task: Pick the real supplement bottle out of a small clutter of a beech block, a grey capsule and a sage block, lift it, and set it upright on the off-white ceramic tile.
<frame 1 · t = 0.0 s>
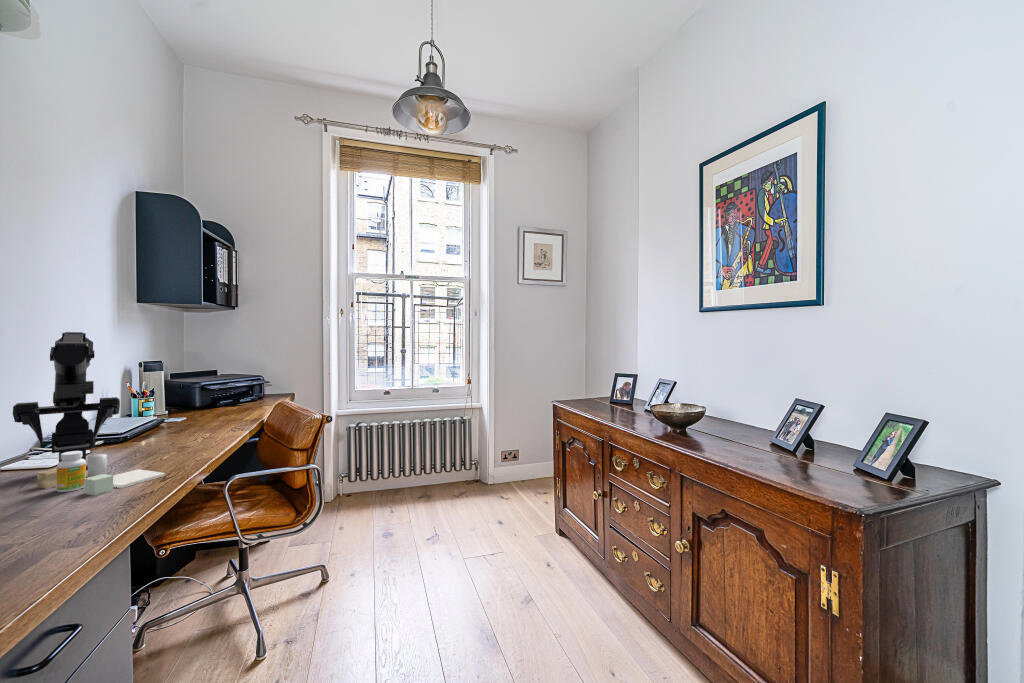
hand: (68, 440, 105), 15 cm above the table, tool tilted 35°, fingers open, 9 cm apart
ceramic tile: (130, 479, 121), on the table
beech block: (51, 485, 115), on the table
sage block: (98, 492, 111), on the table
grey capsule: (97, 476, 123), on the table
supplement bottle: (71, 489, 113), on the table
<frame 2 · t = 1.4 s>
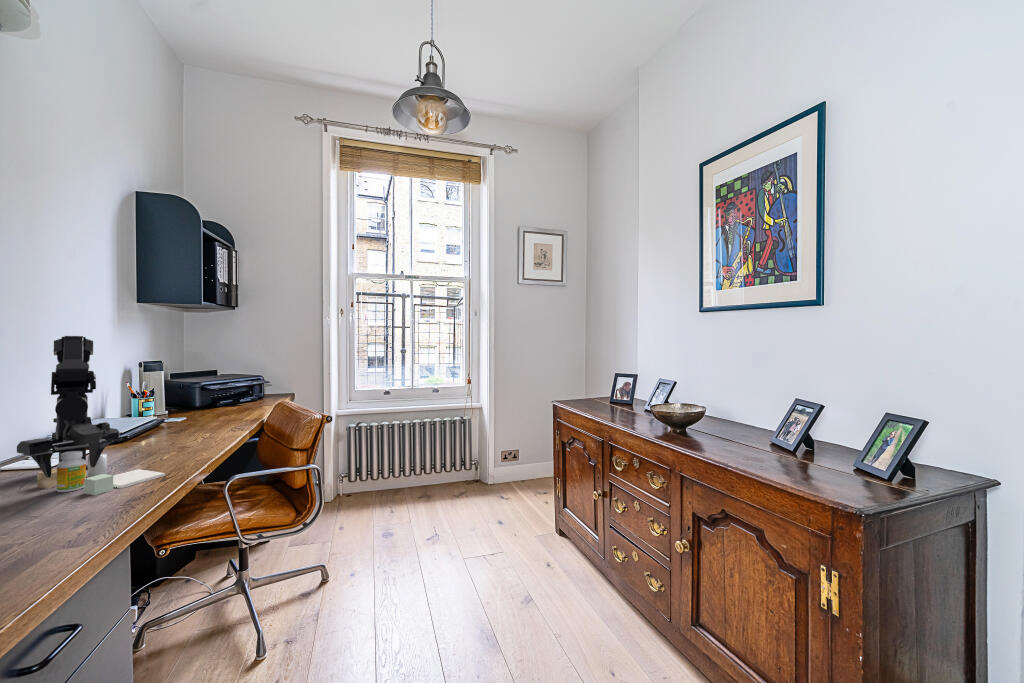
hand: (71, 472, 113), 4 cm above the table, tool pointing down, fingers open, 9 cm apart
nothing on the table moved.
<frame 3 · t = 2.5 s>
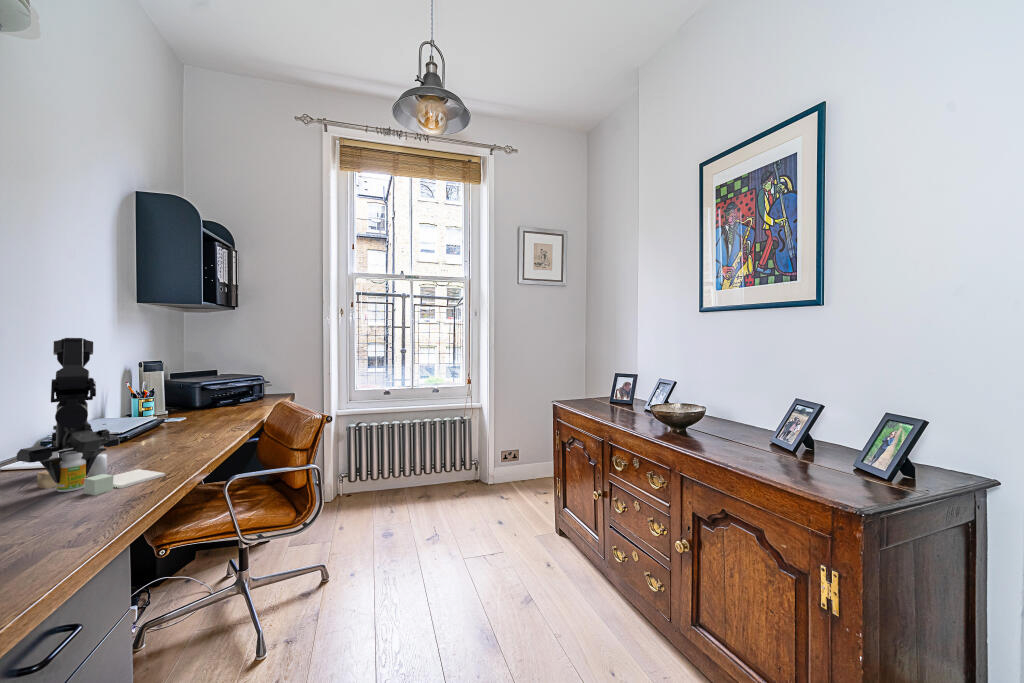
hand: (71, 479, 113), 3 cm above the table, tool pointing down, fingers closed on supplement bottle, 5 cm apart
supplement bottle: (71, 489, 113), on the table, touching gripper
everything else where it was.
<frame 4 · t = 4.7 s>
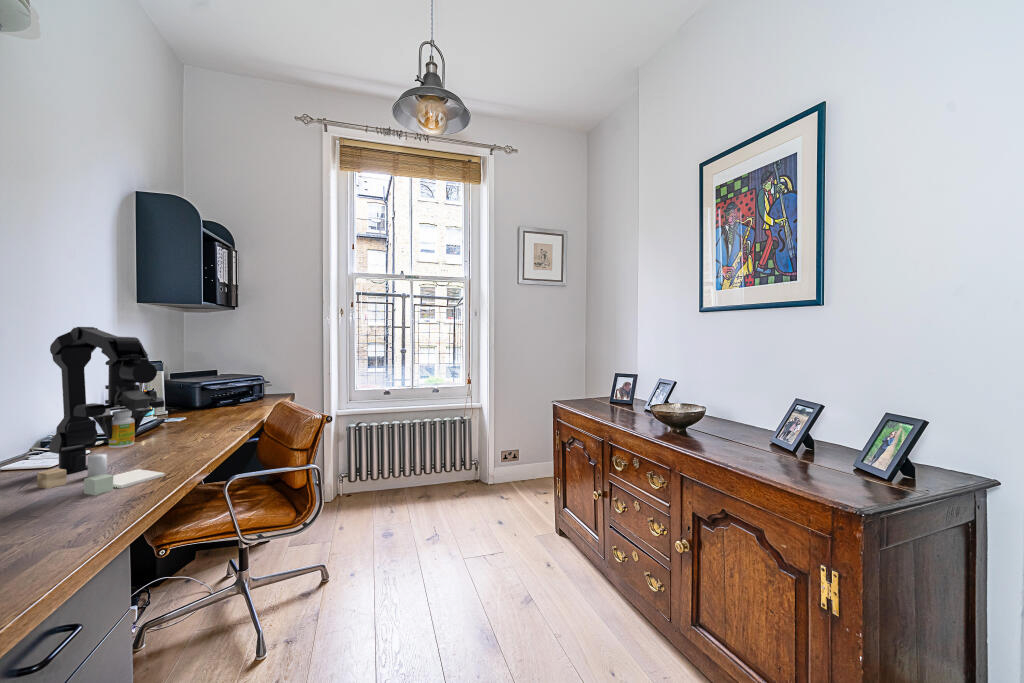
hand: (121, 436, 119), 13 cm above the table, tool pointing down, fingers closed on supplement bottle, 5 cm apart
supplement bottle: (121, 446, 119), point 10 cm above the table, touching gripper
everything else where it was.
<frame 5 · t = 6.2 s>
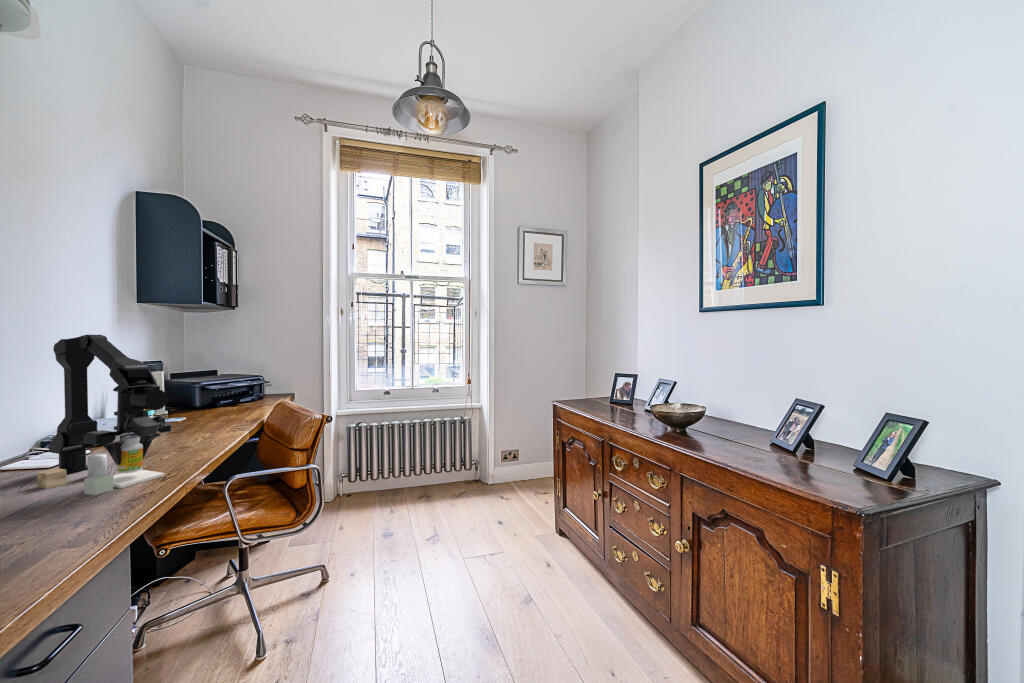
hand: (130, 462, 121), 5 cm above the table, tool pointing down, fingers closed on supplement bottle, 5 cm apart
supplement bottle: (130, 471, 121), point 2 cm above the table, touching gripper
everything else where it was.
when the fingers open (4 cm above the table, at t = 7.2 s): supplement bottle drops 1 cm, resting on ceramic tile.
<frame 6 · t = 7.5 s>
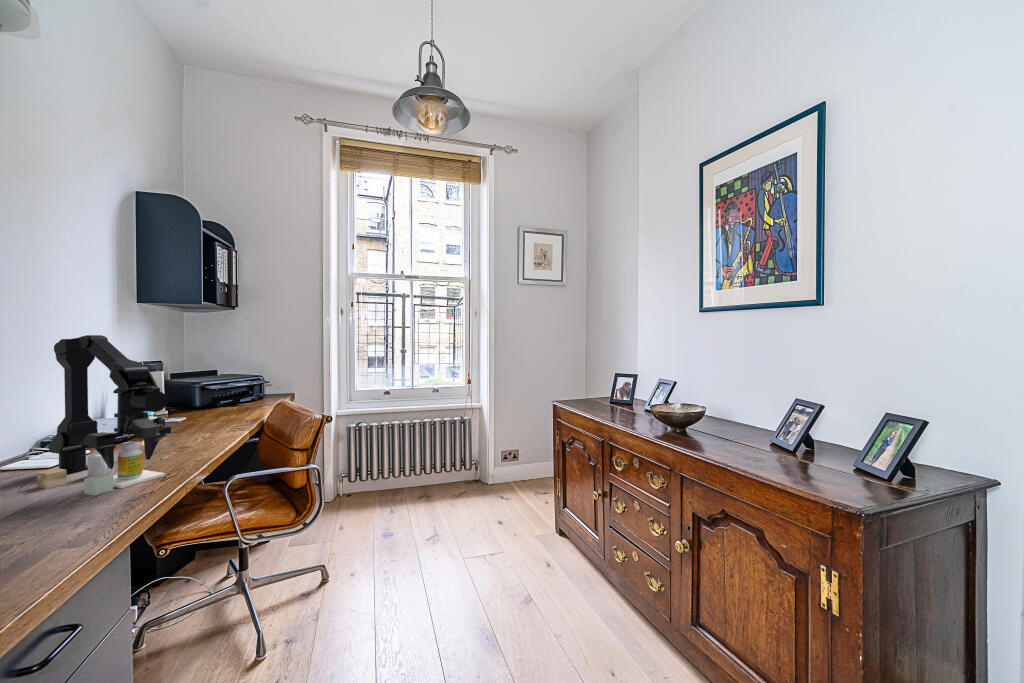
hand: (130, 463, 121), 4 cm above the table, tool pointing down, fingers open, 9 cm apart
supplement bottle: (130, 477, 121), point 1 cm above the table, touching ceramic tile
everything else where it was.
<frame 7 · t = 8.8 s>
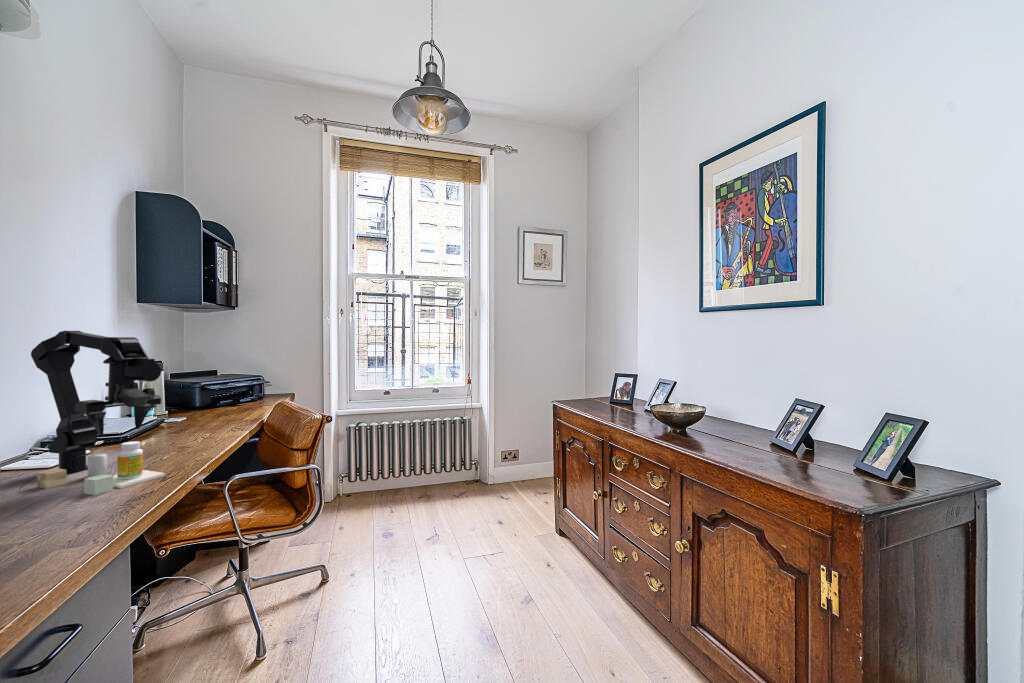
hand: (119, 431, 125), 13 cm above the table, tool pointing down, fingers open, 9 cm apart
nothing on the table moved.
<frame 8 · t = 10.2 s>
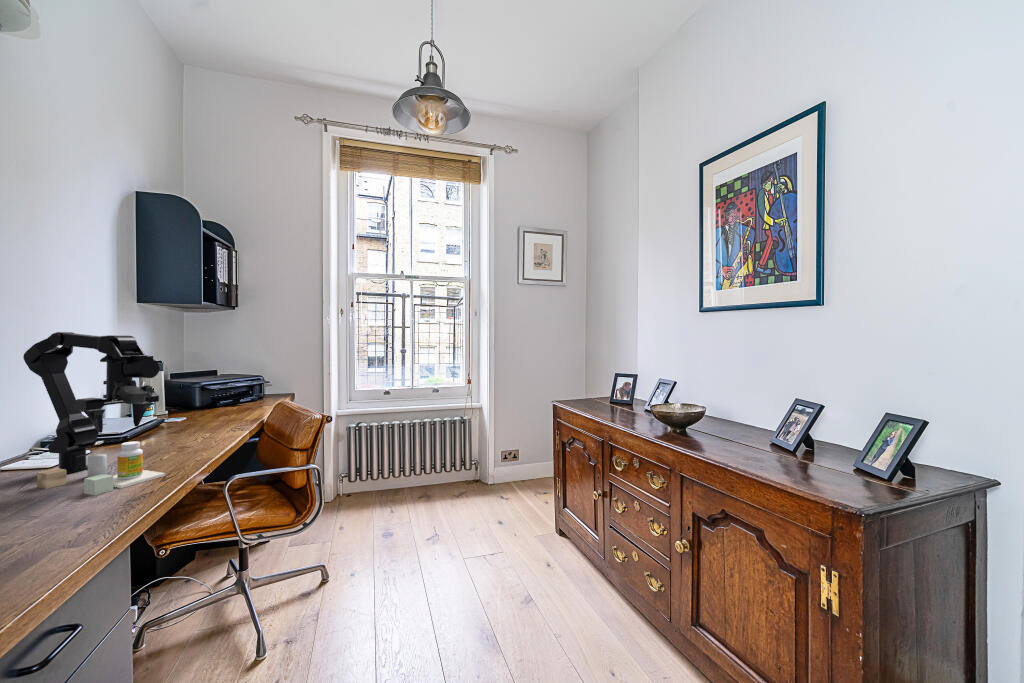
hand: (118, 429, 126), 13 cm above the table, tool pointing down, fingers open, 9 cm apart
nothing on the table moved.
at the end: supplement bottle inside the target area on the ceramic tile (0.0 cm from its centre), point 0.6 cm above the ceramic tile's base; supplement bottle tilted 0°; the gripper is holding nothing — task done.
